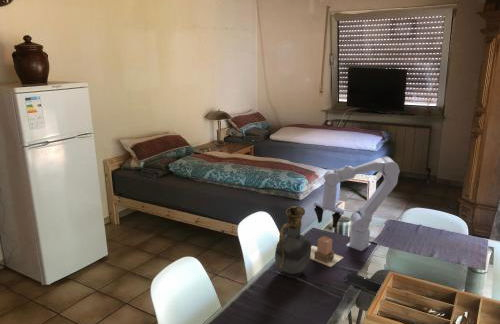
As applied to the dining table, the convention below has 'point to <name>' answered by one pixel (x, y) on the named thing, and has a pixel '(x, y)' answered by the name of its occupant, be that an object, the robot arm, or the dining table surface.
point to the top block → (324, 245)
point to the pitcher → (293, 245)
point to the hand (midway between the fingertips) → (327, 224)
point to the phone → (363, 283)
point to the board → (330, 263)
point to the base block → (324, 256)
